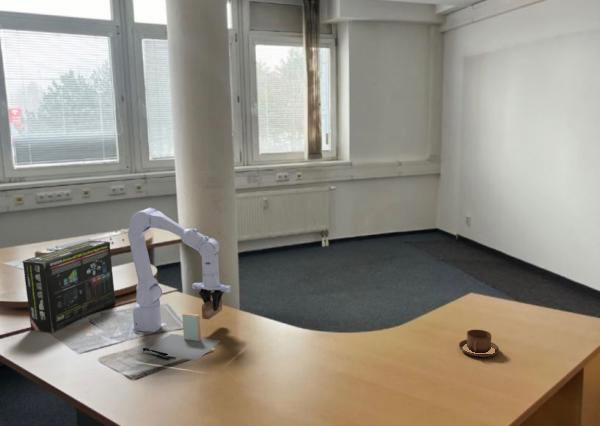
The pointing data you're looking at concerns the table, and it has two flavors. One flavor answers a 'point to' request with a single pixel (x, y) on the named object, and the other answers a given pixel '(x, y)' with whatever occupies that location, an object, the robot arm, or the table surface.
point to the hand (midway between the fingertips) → (212, 309)
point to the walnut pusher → (210, 309)
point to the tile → (191, 327)
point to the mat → (183, 347)
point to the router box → (68, 284)
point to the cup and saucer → (479, 343)
